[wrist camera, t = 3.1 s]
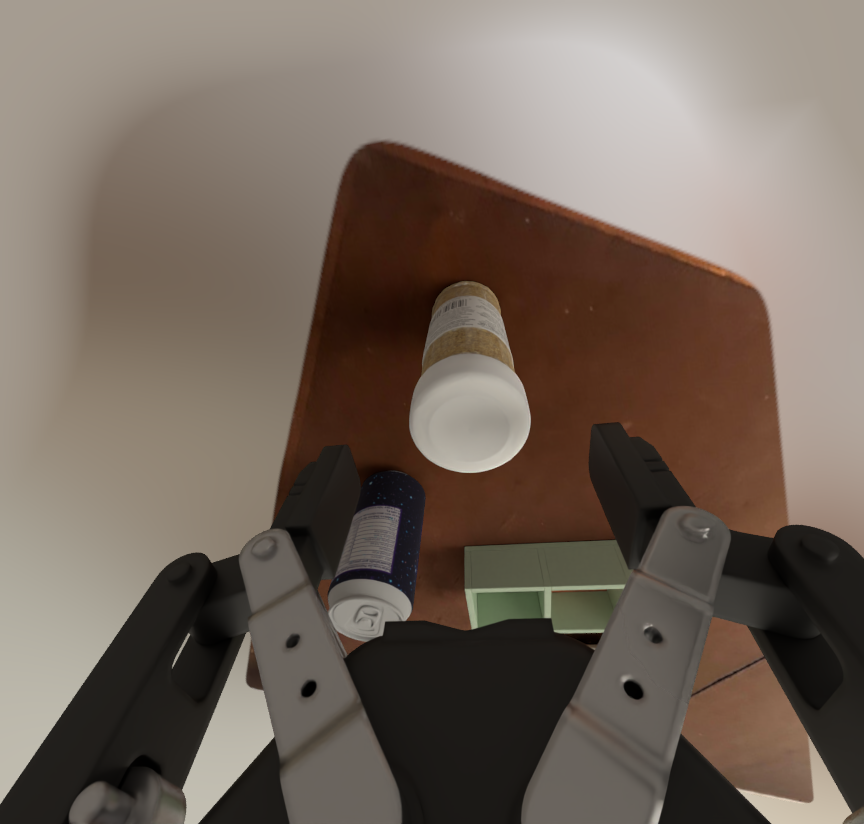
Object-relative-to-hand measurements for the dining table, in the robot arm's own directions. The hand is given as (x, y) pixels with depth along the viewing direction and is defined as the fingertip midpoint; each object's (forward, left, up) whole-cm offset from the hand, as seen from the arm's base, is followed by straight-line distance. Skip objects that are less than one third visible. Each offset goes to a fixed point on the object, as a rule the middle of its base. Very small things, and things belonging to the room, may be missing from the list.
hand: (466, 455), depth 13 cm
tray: (-8, +27, -15) cm, 32 cm away
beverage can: (+8, +15, -15) cm, 23 cm away
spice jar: (0, 0, -15) cm, 15 cm away
